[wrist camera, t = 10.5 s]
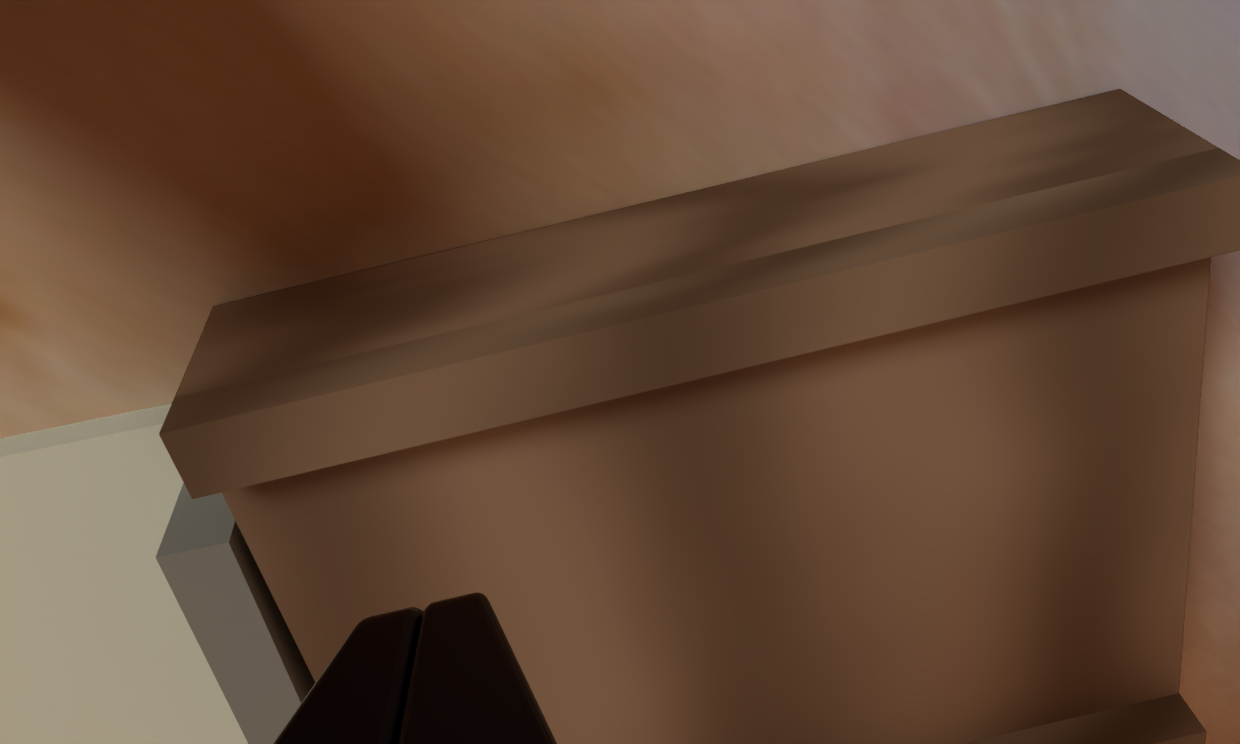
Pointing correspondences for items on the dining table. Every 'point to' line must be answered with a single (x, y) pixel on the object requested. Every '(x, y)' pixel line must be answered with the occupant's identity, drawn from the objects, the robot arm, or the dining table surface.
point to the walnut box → (767, 442)
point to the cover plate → (131, 599)
